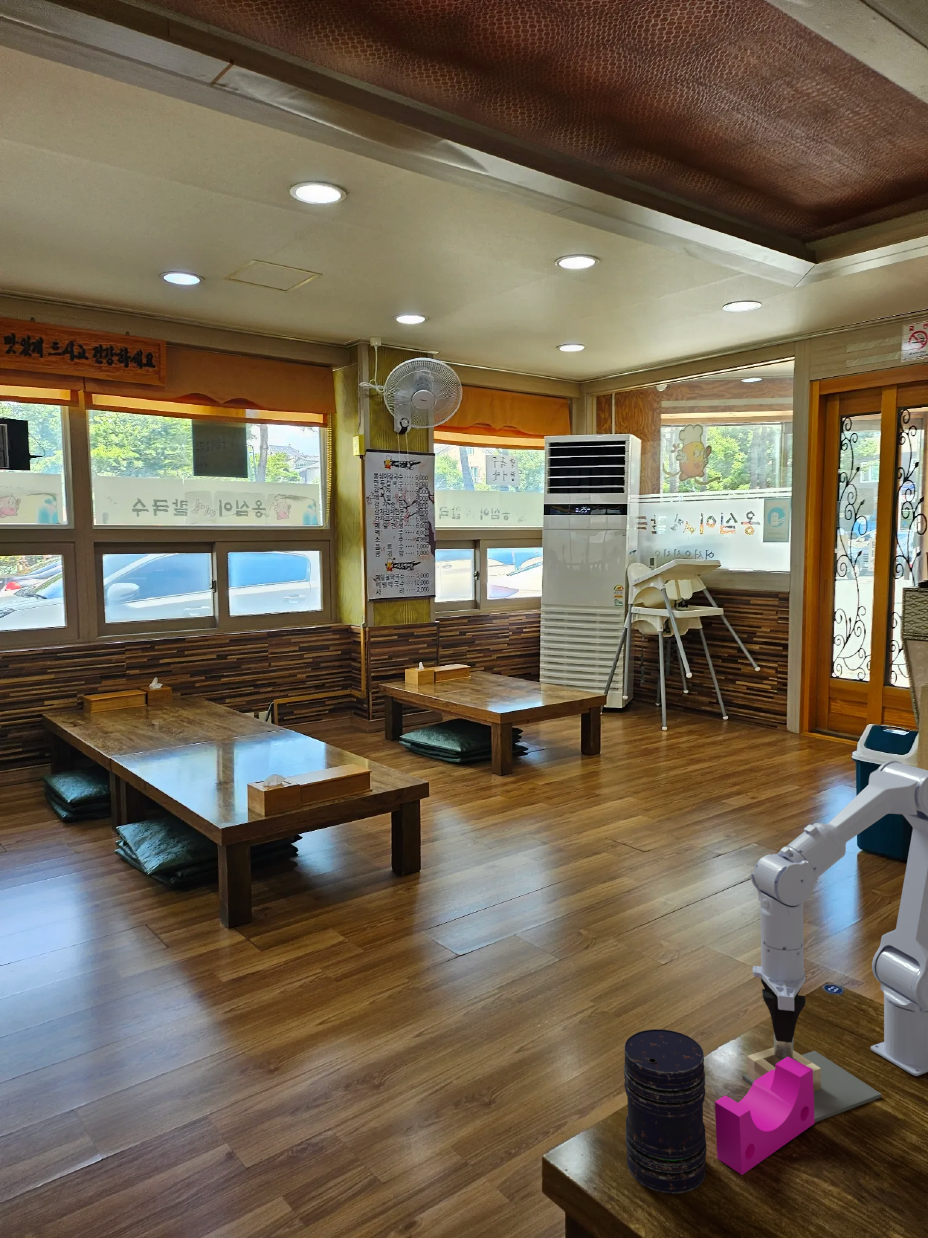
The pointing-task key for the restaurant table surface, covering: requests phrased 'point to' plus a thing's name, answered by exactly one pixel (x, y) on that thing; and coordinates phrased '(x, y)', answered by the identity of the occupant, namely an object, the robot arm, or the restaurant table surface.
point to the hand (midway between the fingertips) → (782, 1034)
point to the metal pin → (783, 1049)
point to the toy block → (765, 1115)
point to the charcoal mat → (835, 1089)
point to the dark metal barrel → (665, 1110)
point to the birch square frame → (767, 1060)
